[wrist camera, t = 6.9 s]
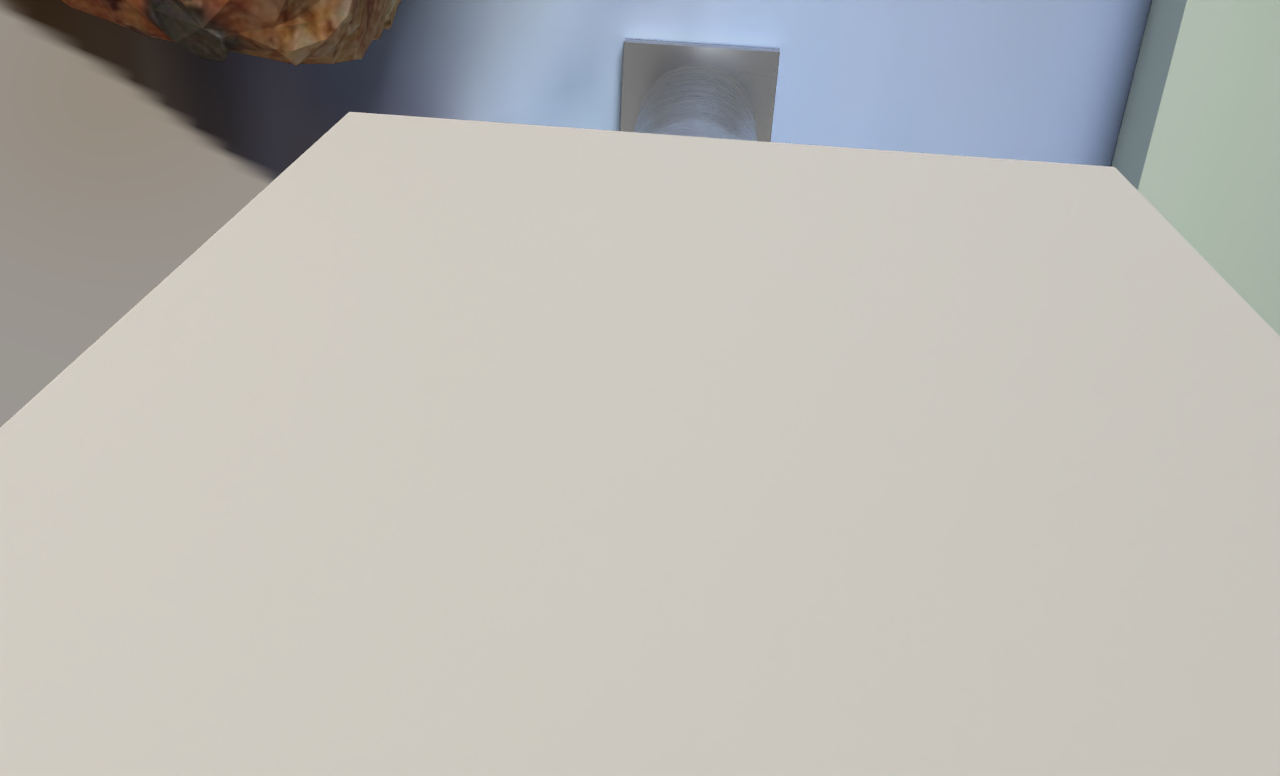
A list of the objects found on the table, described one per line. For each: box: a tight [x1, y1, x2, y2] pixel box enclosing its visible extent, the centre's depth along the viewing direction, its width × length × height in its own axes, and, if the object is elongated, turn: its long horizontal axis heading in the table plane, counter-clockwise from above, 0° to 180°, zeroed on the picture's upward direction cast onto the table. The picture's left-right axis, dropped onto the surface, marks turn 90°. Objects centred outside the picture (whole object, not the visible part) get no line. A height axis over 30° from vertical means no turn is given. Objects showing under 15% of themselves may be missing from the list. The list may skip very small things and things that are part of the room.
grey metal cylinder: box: [620, 39, 780, 142], centre depth 23 cm, size 4×4×12 cm
